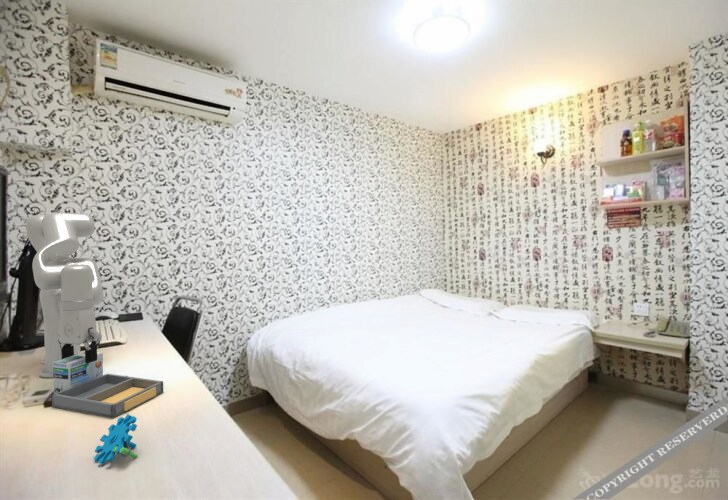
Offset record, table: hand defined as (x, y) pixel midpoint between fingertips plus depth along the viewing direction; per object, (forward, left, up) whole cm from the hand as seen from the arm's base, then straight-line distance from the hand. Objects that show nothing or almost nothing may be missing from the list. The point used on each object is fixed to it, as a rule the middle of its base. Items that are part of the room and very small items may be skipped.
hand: (79, 360), depth 107 cm
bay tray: (+14, -2, -10) cm, 17 cm away
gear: (+41, -21, -10) cm, 48 cm away
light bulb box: (-1, 0, -10) cm, 10 cm away
